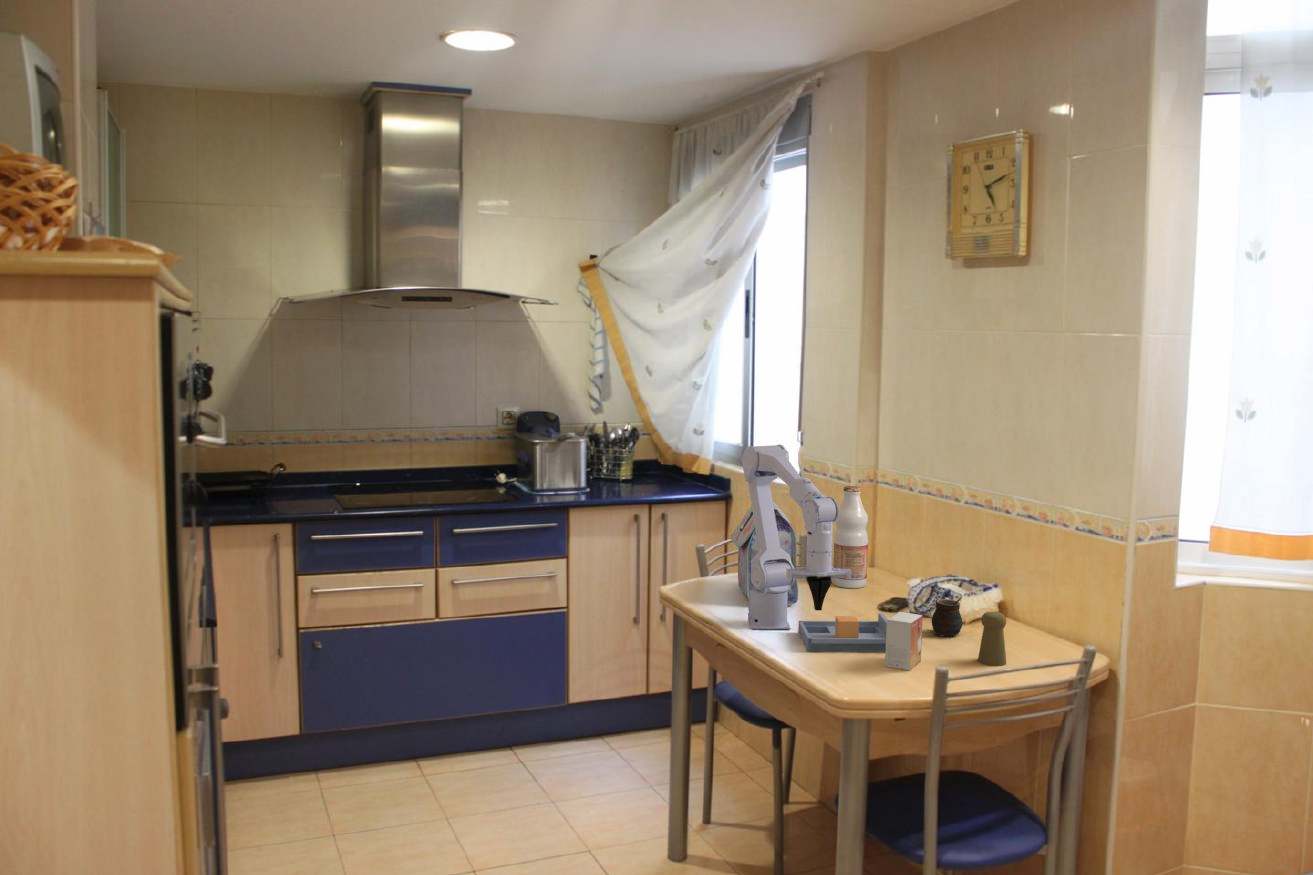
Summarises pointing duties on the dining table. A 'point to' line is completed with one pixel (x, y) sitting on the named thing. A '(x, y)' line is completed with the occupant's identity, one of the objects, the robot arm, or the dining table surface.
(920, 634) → the small box
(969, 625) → the dining table surface
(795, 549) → the lunch bag
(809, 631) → the tray
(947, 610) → the mate gourd
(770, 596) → the robot arm
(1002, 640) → the olive green pepper mill
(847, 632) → the block
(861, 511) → the fruit juice
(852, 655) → the dining table surface
